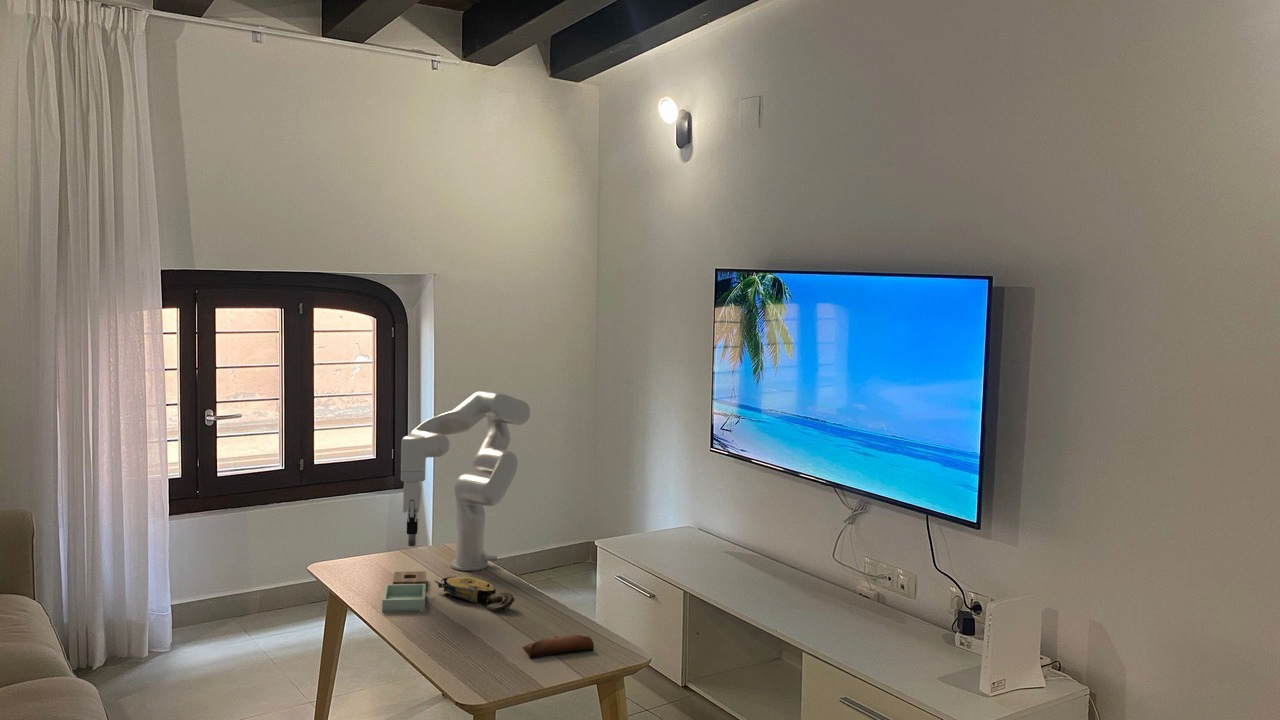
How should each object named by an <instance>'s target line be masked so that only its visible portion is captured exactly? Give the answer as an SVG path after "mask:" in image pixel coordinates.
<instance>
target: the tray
mask: <svg viewBox="0 0 1280 720" xmlns="http://www.w3.org/2000/svg"><path fill="white" fill-rule="evenodd" d="M426 590H427V583H426V584H393V583H391V584H385V586H384V589H383V596H382V604H381V606H382V607H381V611H382V612H383V613H385V612H387V613H388V612H389V613H390V611H398V612H419V611H418V610H423V611H422V612H425V607H426ZM382 612H381V613H382Z"/></svg>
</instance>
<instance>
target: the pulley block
mask: <svg viewBox="0 0 1280 720" xmlns="http://www.w3.org/2000/svg"><path fill="white" fill-rule="evenodd" d="M441 582H442V583H441ZM434 583H436V584H437V585H438V588H439V589H440V588H443V592H444V593H448V594H449V595H451V596H454V597H456V598H461V599H463V600H467V601H470V602H472V603H473V602H475V604H479V605H483V606H485V605H487V606H486V607H487V610H491V611H493V612H504V611H507V610H510V607H511V606H512V605H513V603H514V602H515V599H516V598H514V595H513V594H511V592H506V591H504V592H497V593H496V590H497V589H496V588H495V587H494V585H492V583H490V582H488V581H486V580H483V579H479V578H476V577H472V576H471V577H470V576H459V577H458V576H448V577H447V576H446V577H444V578H442V579H441V580H440V582H439V581H437V580H434Z"/></svg>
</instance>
